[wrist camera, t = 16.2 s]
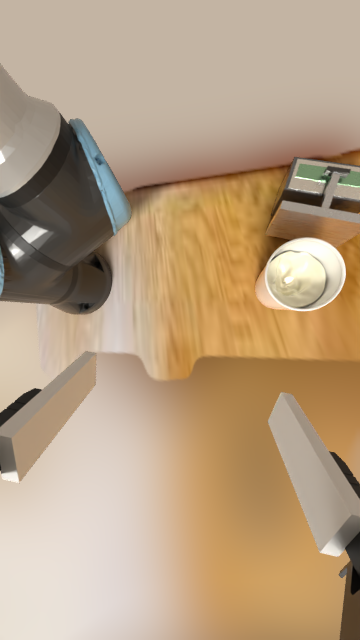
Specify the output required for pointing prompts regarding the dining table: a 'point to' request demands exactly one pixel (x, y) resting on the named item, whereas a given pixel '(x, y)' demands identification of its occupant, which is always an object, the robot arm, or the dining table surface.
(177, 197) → the dining table surface
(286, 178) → the box
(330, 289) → the white cream cup
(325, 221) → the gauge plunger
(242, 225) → the dining table surface
